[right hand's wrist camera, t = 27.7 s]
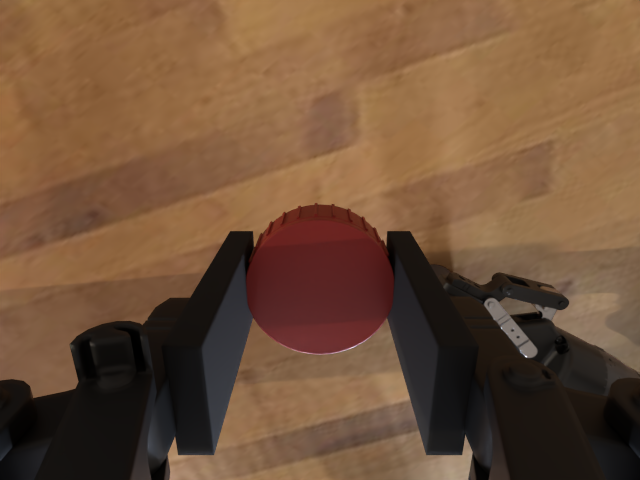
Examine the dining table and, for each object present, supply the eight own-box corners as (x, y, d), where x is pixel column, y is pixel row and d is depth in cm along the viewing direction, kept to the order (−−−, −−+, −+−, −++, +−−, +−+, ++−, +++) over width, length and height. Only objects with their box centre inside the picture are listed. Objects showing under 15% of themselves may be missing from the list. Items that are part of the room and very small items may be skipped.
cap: (407, 300, 15) (418, 326, 13) (286, 345, 15) (282, 375, 14) (359, 180, 13) (364, 193, 12) (227, 234, 14) (215, 254, 12)
